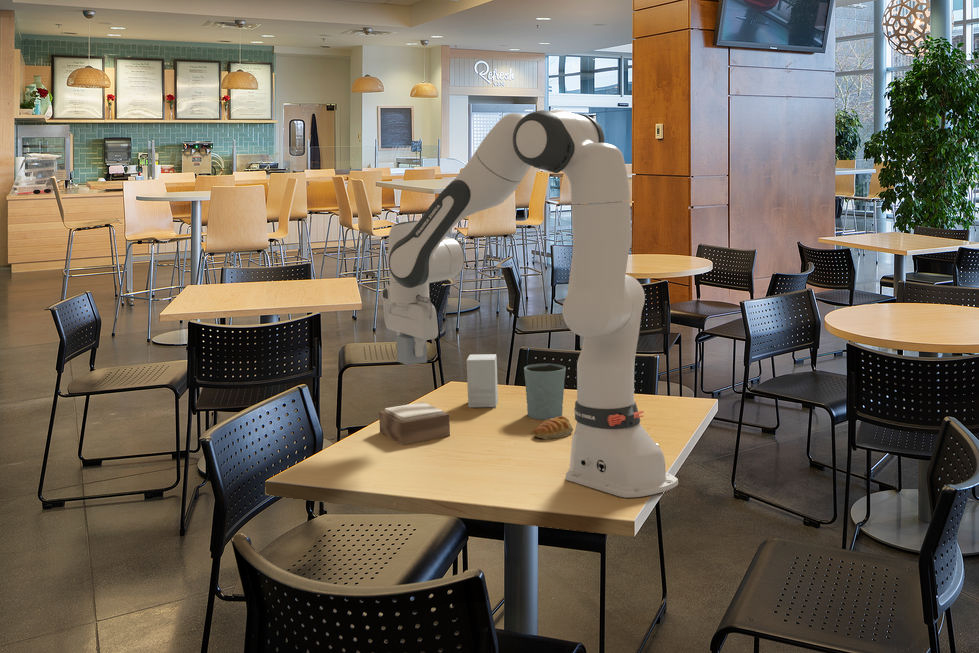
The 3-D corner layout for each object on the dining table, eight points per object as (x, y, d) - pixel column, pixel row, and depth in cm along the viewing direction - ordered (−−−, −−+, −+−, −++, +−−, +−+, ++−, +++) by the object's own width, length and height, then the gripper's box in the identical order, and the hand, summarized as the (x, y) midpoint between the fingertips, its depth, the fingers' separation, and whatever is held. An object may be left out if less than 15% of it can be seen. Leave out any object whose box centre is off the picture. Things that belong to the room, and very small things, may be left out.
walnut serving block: (449, 435, 204) (449, 411, 203) (402, 444, 198) (401, 419, 197) (425, 424, 214) (424, 400, 213) (379, 432, 208) (378, 408, 207)
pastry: (548, 443, 197) (548, 426, 197) (525, 437, 202) (525, 421, 201) (575, 433, 204) (575, 417, 203) (553, 428, 209) (552, 412, 208)
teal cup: (521, 419, 216) (521, 371, 214) (527, 409, 226) (526, 362, 224) (563, 420, 214) (563, 372, 212) (567, 410, 224) (567, 363, 222)
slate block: (427, 362, 202) (426, 336, 201) (407, 365, 200) (406, 338, 199) (417, 358, 206) (416, 333, 205) (397, 361, 204) (396, 335, 203)
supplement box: (498, 400, 235) (497, 353, 233) (496, 408, 227) (495, 359, 225) (470, 400, 235) (469, 353, 233) (467, 407, 228) (466, 359, 226)
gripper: (444, 296, 193) (446, 359, 196) (402, 288, 210) (404, 345, 213) (418, 299, 190) (420, 363, 192) (377, 290, 207) (380, 348, 210)
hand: (411, 353), depth 203 cm, fingers closed on slate block, 5 cm apart
